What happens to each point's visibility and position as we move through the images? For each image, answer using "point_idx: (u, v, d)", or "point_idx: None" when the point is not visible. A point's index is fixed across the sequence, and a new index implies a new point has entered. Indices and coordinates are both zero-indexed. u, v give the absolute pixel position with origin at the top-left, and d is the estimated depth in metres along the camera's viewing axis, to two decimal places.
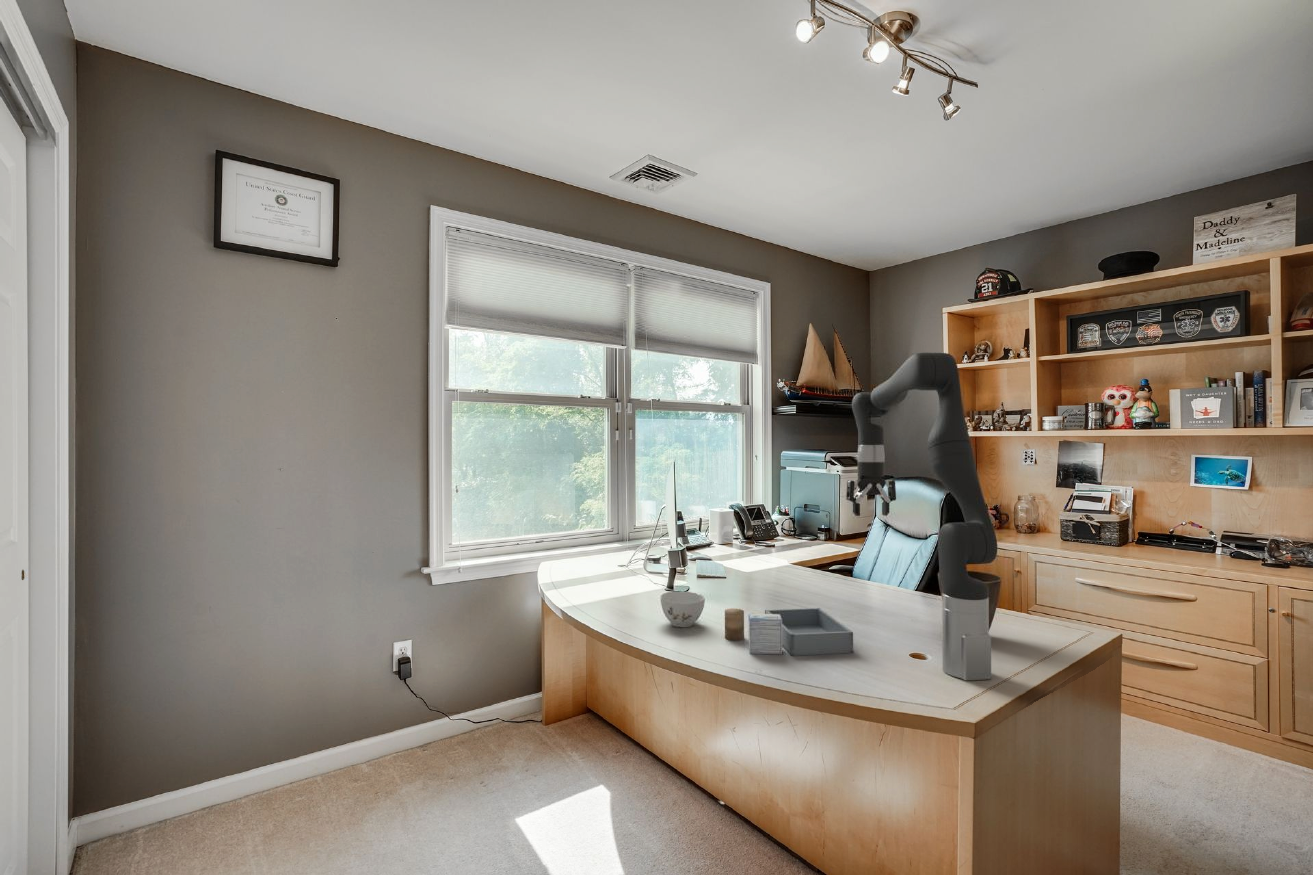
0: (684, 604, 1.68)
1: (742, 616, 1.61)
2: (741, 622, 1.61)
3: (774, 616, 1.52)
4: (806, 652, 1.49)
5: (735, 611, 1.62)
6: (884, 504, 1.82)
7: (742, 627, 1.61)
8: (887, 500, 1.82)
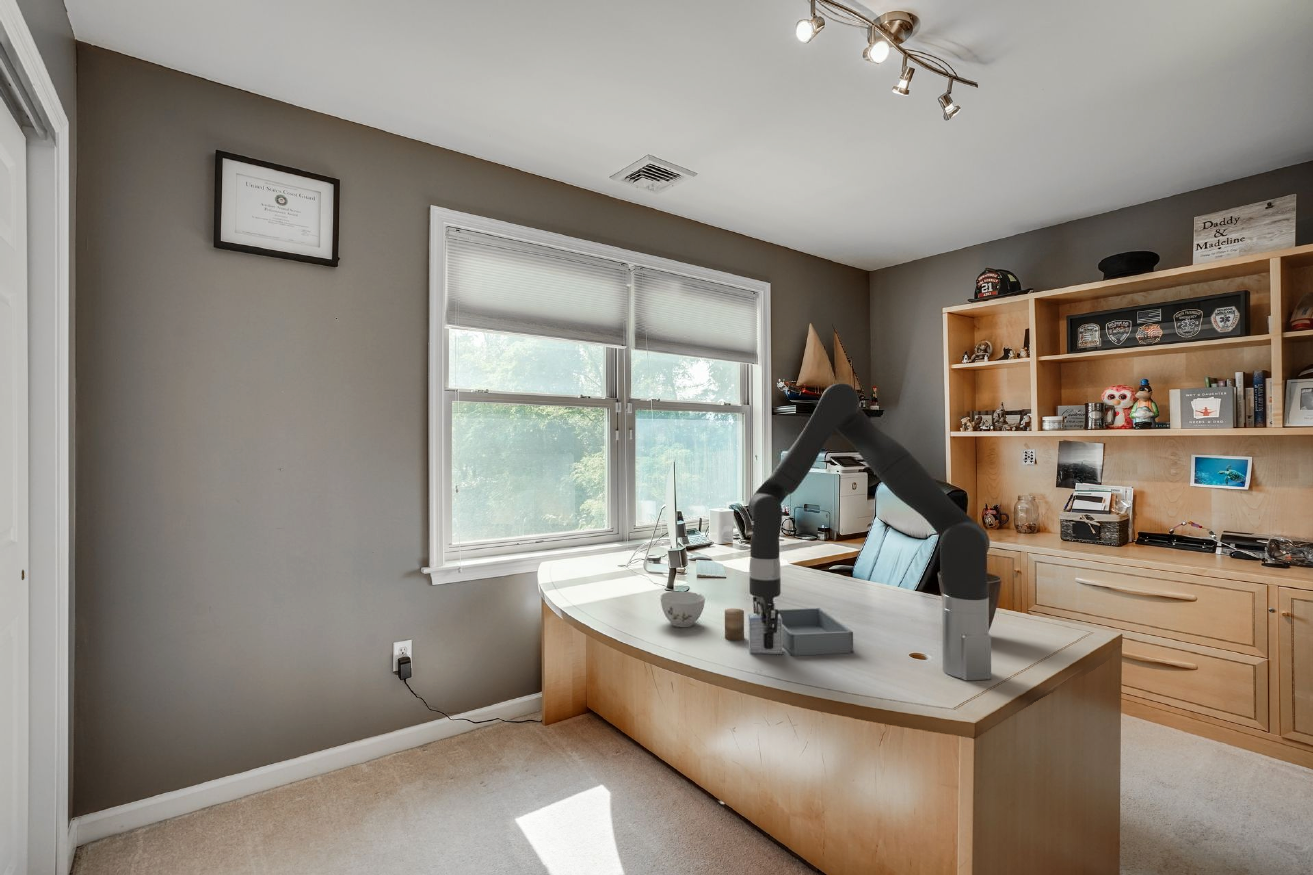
0: (684, 604, 1.68)
1: (742, 616, 1.61)
2: (741, 622, 1.61)
3: None
4: (806, 652, 1.49)
5: (735, 611, 1.62)
6: None
7: (742, 627, 1.61)
8: None
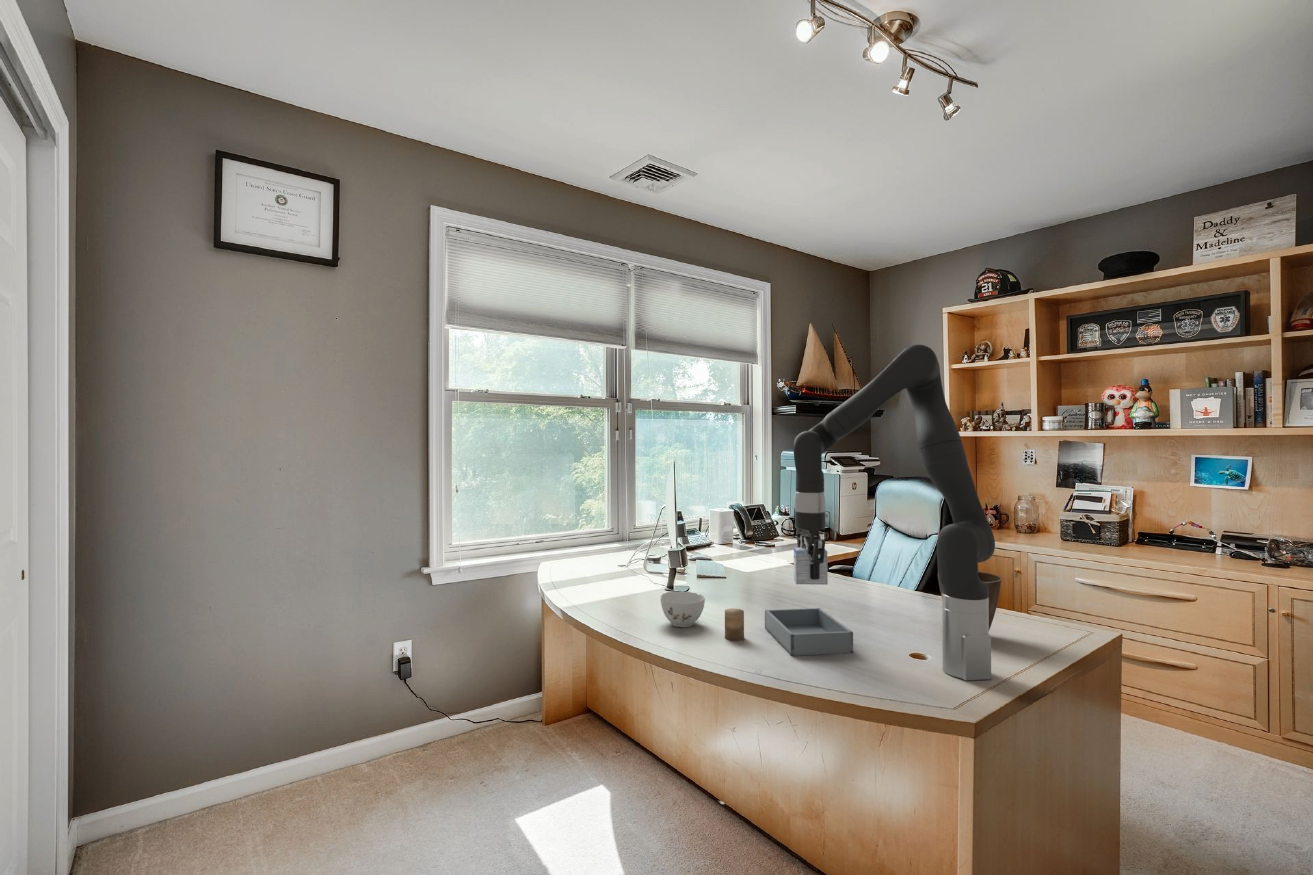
0: (684, 604, 1.68)
1: (742, 616, 1.61)
2: (741, 622, 1.61)
3: None
4: (806, 652, 1.49)
5: (735, 611, 1.62)
6: None
7: (742, 627, 1.61)
8: None
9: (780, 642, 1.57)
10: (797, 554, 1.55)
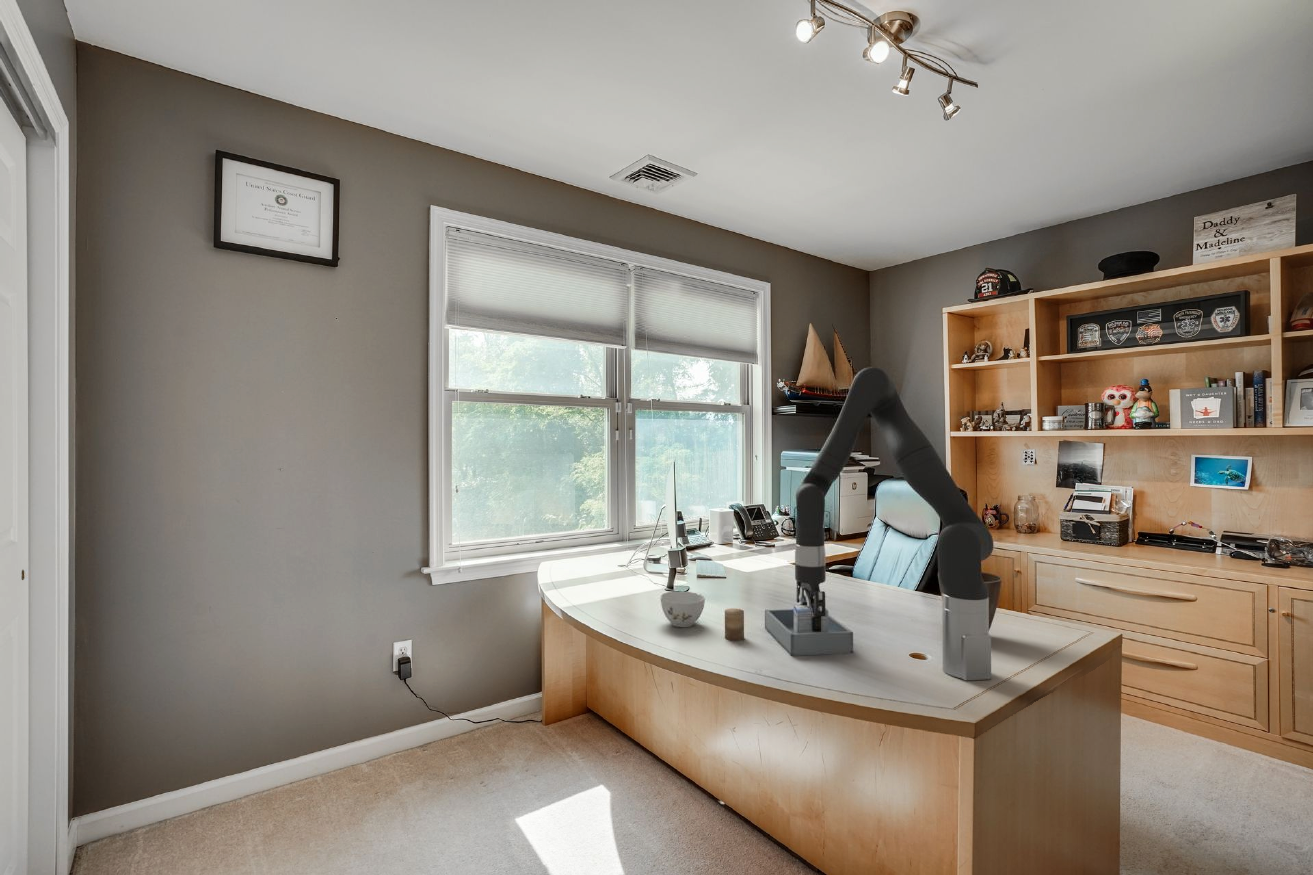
0: (684, 604, 1.68)
1: (742, 616, 1.61)
2: (741, 622, 1.61)
3: None
4: (806, 652, 1.49)
5: (735, 611, 1.62)
6: None
7: (742, 627, 1.61)
8: None
9: (780, 642, 1.57)
10: (798, 613, 1.55)
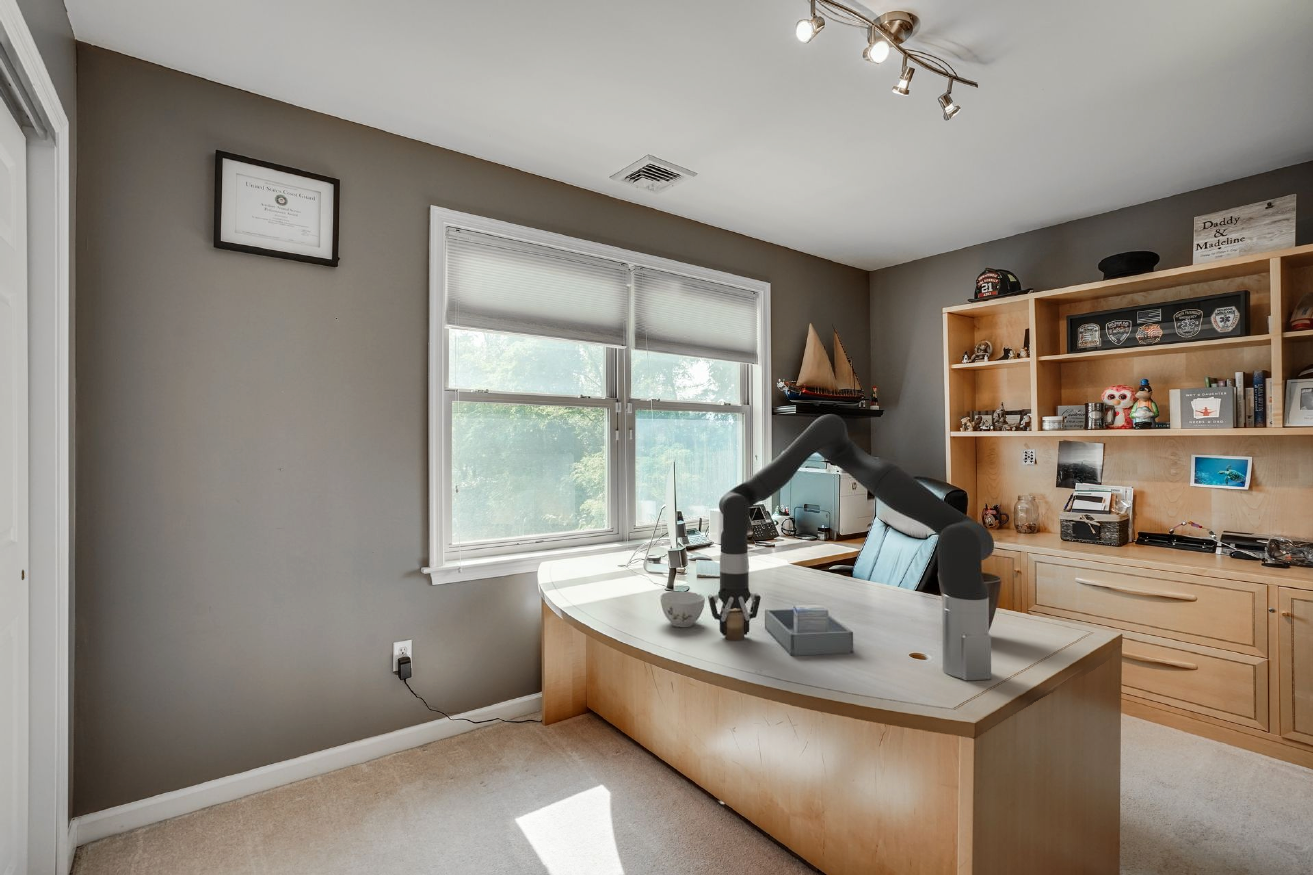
0: (684, 604, 1.68)
1: (742, 616, 1.61)
2: (741, 622, 1.61)
3: (819, 607, 1.57)
4: (806, 652, 1.49)
5: (735, 611, 1.62)
6: None
7: (742, 627, 1.61)
8: None
9: (780, 642, 1.57)
10: (798, 613, 1.55)
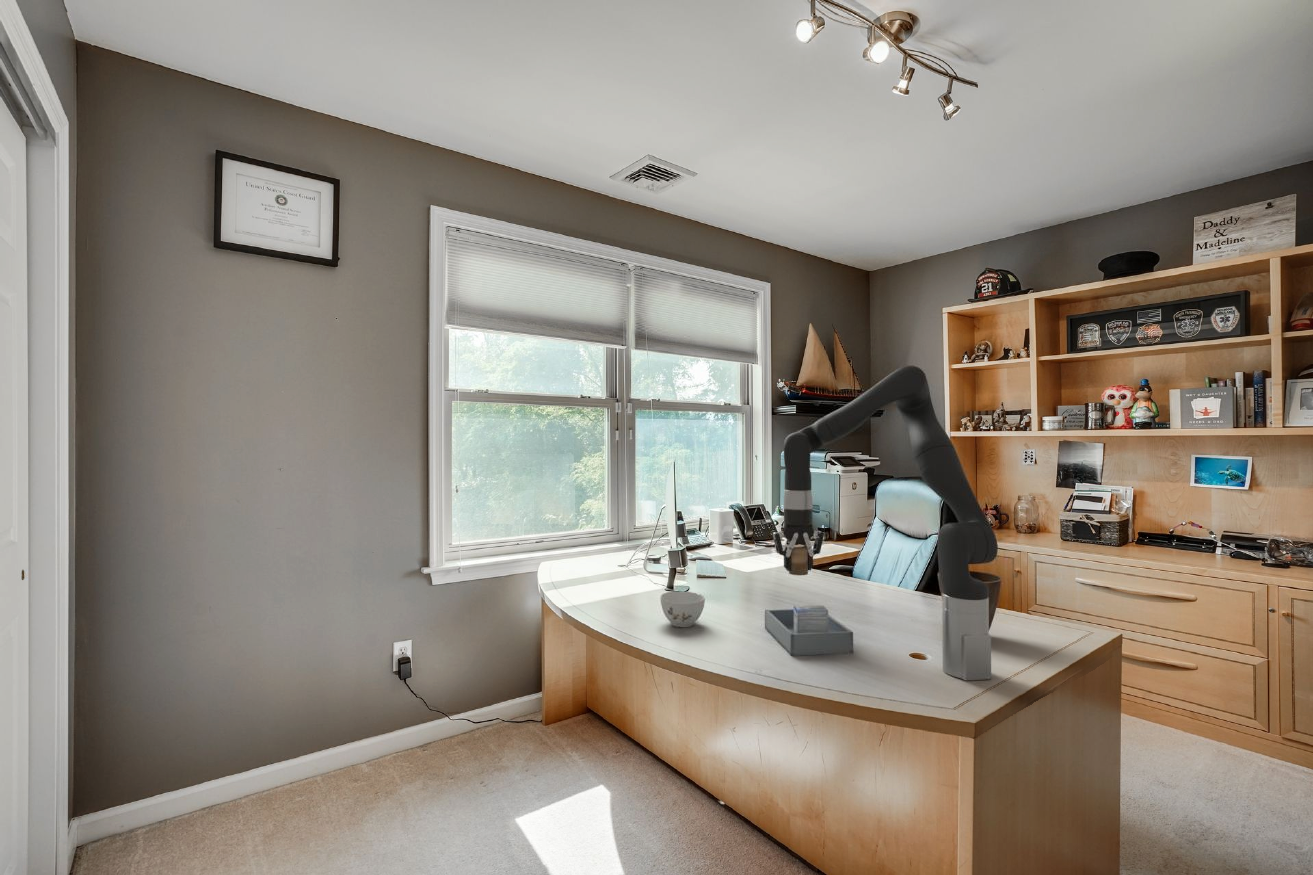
0: (684, 604, 1.68)
1: (806, 551, 1.65)
2: (805, 557, 1.65)
3: (819, 607, 1.57)
4: (806, 652, 1.49)
5: (799, 547, 1.66)
6: None
7: (807, 562, 1.65)
8: None
9: (780, 642, 1.57)
10: (798, 613, 1.55)
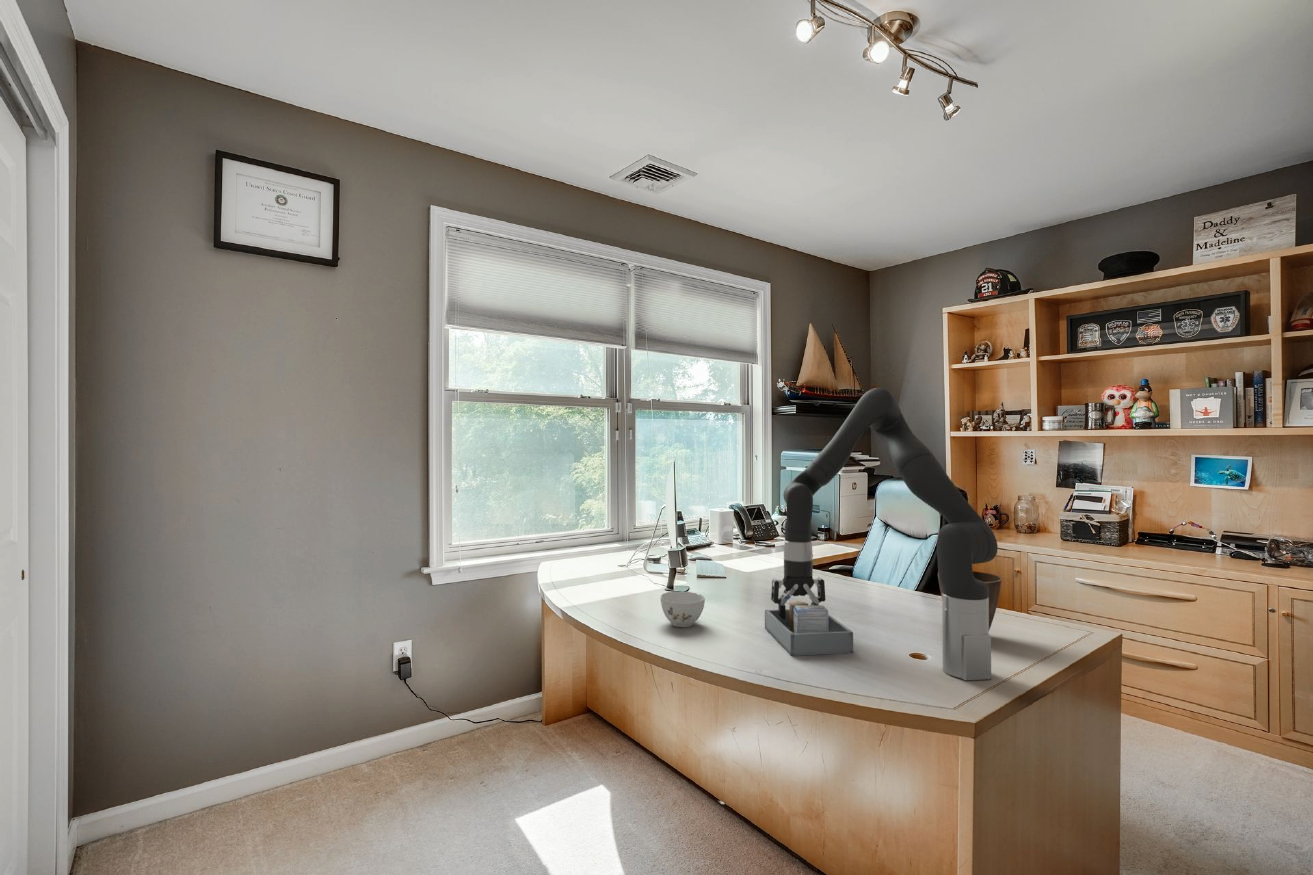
0: (684, 604, 1.68)
1: None
2: None
3: (819, 607, 1.57)
4: (806, 652, 1.49)
5: (800, 604, 1.66)
6: None
7: None
8: None
9: (780, 642, 1.57)
10: (798, 613, 1.55)
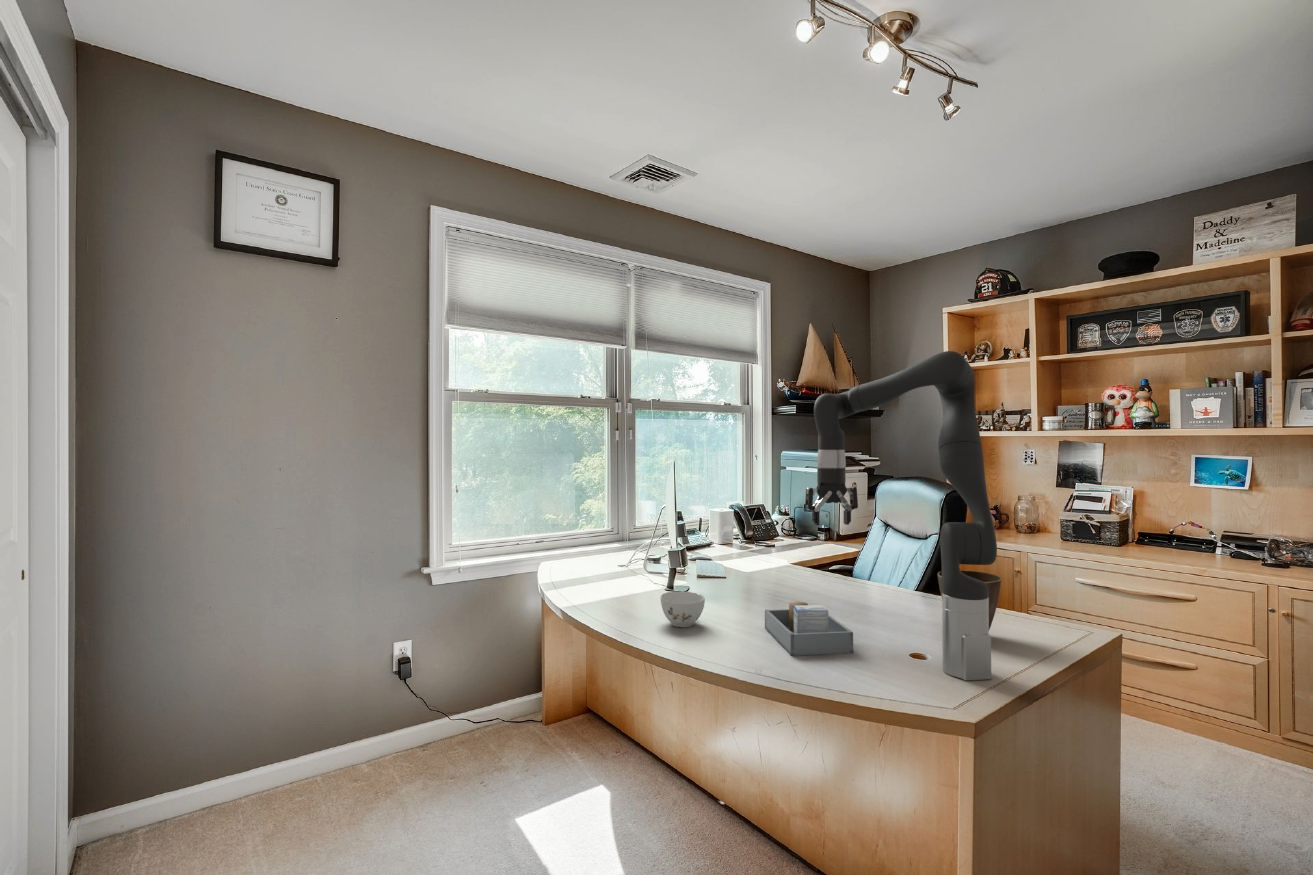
0: (684, 604, 1.68)
1: None
2: None
3: (819, 607, 1.57)
4: (806, 652, 1.49)
5: (799, 604, 1.66)
6: None
7: None
8: None
9: (780, 642, 1.57)
10: (798, 613, 1.55)
